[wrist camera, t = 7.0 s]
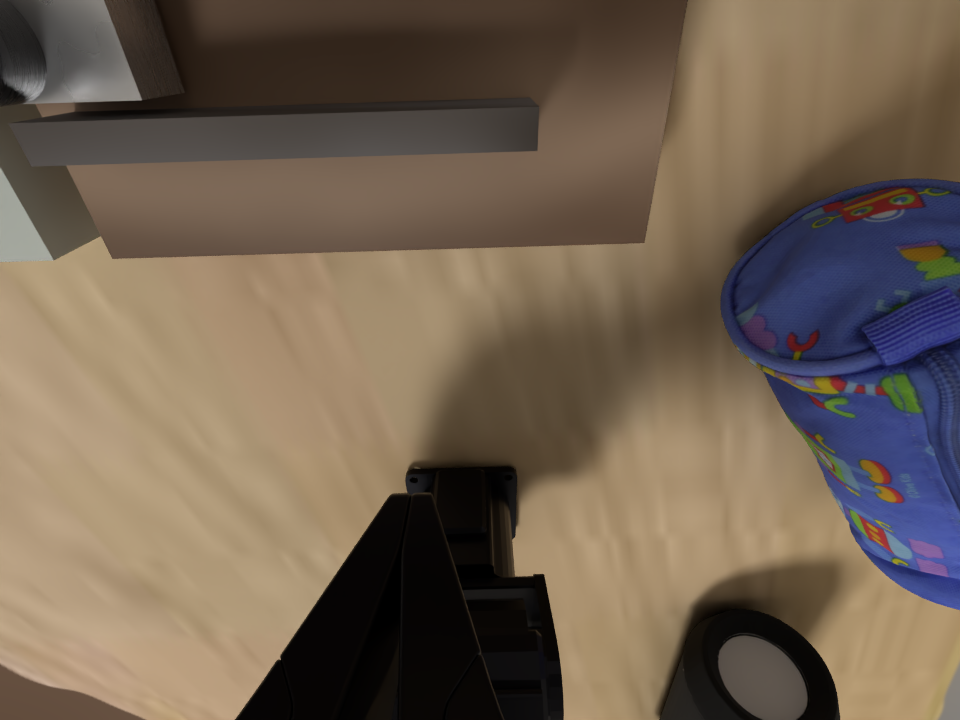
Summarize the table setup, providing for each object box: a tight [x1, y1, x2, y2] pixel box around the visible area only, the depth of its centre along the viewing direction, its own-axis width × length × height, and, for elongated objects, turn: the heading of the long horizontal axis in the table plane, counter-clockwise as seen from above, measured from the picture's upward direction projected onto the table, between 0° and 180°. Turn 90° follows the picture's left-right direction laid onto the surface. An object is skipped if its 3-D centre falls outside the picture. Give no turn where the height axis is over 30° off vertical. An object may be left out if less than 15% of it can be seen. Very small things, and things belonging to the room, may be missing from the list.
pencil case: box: [721, 179, 960, 610], centre depth 20 cm, size 22×9×10 cm, turn 40°
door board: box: [8, 0, 688, 259], centre depth 13 cm, size 12×18×6 cm, turn 92°
